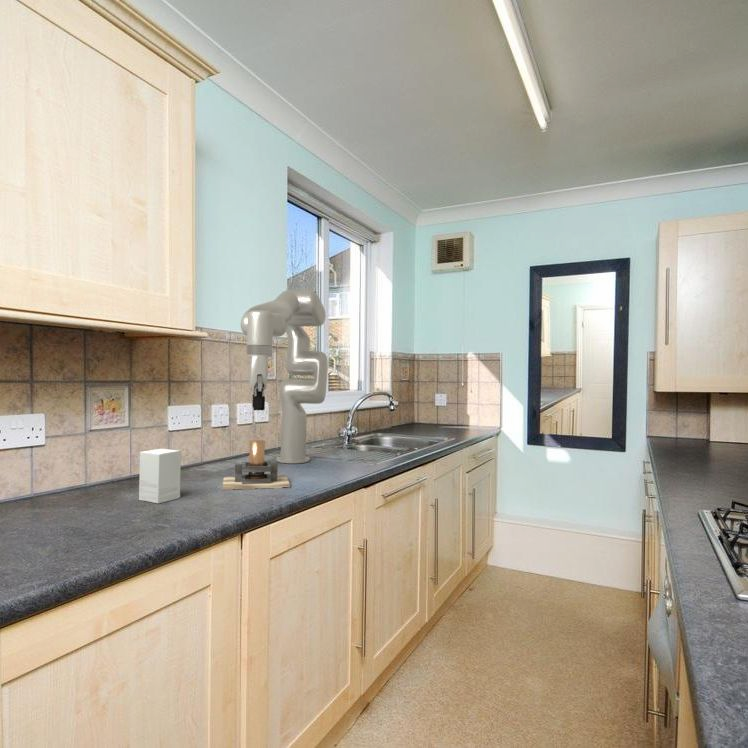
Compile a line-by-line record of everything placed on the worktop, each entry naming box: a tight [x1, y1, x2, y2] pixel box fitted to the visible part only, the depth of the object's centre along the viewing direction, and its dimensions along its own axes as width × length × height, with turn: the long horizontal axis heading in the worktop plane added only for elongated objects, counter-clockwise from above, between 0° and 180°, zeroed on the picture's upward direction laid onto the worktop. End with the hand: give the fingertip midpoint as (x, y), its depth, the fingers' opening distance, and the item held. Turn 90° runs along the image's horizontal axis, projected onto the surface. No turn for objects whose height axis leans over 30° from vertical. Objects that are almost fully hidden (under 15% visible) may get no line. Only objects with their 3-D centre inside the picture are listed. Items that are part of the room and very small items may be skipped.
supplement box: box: [138, 448, 182, 504], centre depth 131 cm, size 7×7×13 cm
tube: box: [247, 439, 266, 479], centre depth 151 cm, size 5×5×12 cm
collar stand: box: [222, 461, 291, 491], centre depth 151 cm, size 13×19×6 cm
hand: (258, 408), depth 152 cm, fingers open, 9 cm apart
